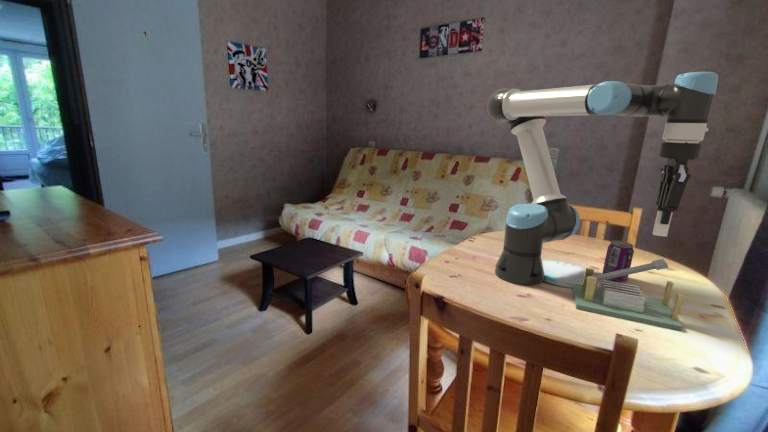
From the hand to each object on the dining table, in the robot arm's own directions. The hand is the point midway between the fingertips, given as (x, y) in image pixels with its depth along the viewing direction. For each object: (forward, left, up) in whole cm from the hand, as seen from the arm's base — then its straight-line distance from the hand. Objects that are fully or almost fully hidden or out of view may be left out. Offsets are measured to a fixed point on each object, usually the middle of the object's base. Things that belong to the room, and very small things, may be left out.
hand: (659, 235), depth 88 cm
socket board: (-5, 0, -22) cm, 22 cm away
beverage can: (-3, +21, -22) cm, 31 cm away
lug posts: (-4, 0, -21) cm, 21 cm away
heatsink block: (-5, 0, -21) cm, 21 cm away
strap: (-5, 0, -12) cm, 13 cm away
